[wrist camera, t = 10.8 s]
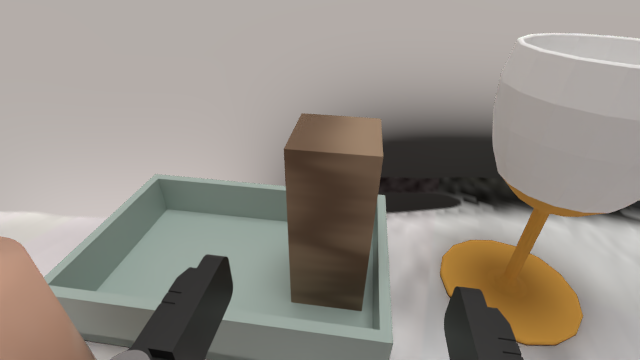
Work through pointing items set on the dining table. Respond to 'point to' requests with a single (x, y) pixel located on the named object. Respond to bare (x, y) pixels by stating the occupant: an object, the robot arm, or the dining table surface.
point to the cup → (555, 169)
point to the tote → (245, 264)
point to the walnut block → (331, 207)
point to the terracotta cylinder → (33, 313)
